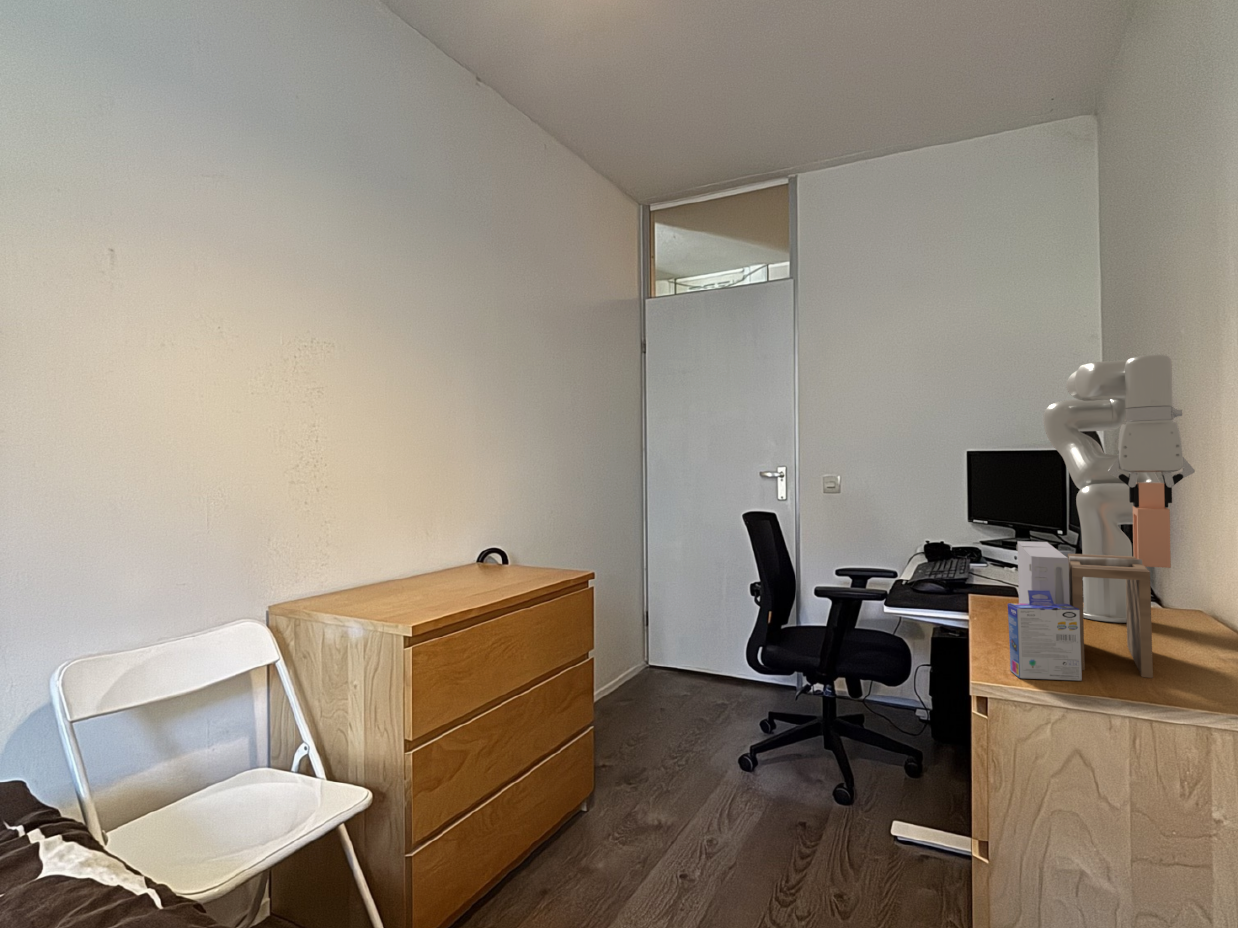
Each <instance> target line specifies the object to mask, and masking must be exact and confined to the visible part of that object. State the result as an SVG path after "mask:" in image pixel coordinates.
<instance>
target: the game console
mask: <svg viewBox="0 0 1238 928" xmlns="http://www.w3.org/2000/svg"><path fill="white" fill-rule="evenodd" d="M1016 542H1017V544H1016V551H1017V576H1018V603H1029V597H1028V590H1035V591H1050V594H1051V596H1052V600H1053V602H1054V604H1069V605H1070V602H1069V563H1068V556H1066V555H1064V554H1063V553H1062V552H1061V551H1059V550H1058V549H1057V548H1055V547H1054V546H1053V545H1052V544H1051V543H1049V542H1048V541H1025V540H1024V541H1021V540H1020V541H1019V540H1017V541H1016ZM1032 597H1033V598H1034V599H1048V597H1047V596H1045V595H1042V594H1037V595H1033V596H1032Z"/></svg>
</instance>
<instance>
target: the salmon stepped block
mask: <svg viewBox="0 0 1238 928" xmlns="http://www.w3.org/2000/svg"><path fill="white" fill-rule="evenodd" d="M1136 484H1137V487H1138V488H1139V506H1138V507H1134V506H1133V524H1132V542H1133V543H1132V555H1133V556H1135V557H1136V558H1137V559H1142V564H1143V565H1144V566H1145V567H1146V568H1147V567H1148V568H1168V569H1169V568H1170V569H1171V567H1172V565H1171V561H1172V559H1171V558H1172V555H1171V508H1170V509H1168V508H1166V507H1165V501H1164V482H1161V483H1136Z"/></svg>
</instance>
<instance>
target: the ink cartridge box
mask: <svg viewBox="0 0 1238 928" xmlns="http://www.w3.org/2000/svg"><path fill="white" fill-rule="evenodd" d="M1037 594H1042V595H1045V596H1047V597H1048V599H1034V598H1033V597H1032V596H1033V595H1037ZM1028 597H1029V603H1019V602H1018V603H1011V602H1010V603H1007V617H1008V635H1009V636H1008V637H1009V638H1008V639H1009V642H1008V643H1009V660H1010V661H1009V665H1010V667H1009V670H1010V672H1011V673H1012V674H1014V675H1015V676H1016V677H1017V678H1018V679H1032V680H1033V679H1035V680H1057V681H1079V682H1080V681H1081V682H1082V681H1083V680H1082V679H1083V676H1082V671H1083V670H1081V644H1080V610H1079V609H1078V608H1075V607H1073V606H1071V605H1069V604H1054V602H1053V600H1052V596H1051V594H1050V591H1035V590H1028Z"/></svg>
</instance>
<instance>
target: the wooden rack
mask: <svg viewBox="0 0 1238 928" xmlns="http://www.w3.org/2000/svg"><path fill="white" fill-rule="evenodd" d="M1067 558H1068V563H1069V602H1070V605H1071V606H1073V607H1075V608H1078V609H1079V610H1080V644H1081V670H1082V671H1086V670H1085V666H1086V665H1085V631H1084V629H1085V628H1084V618H1083V607H1084V596H1083V577H1094V578H1112V579H1126V612H1127V623H1126V645H1127V649H1128V651H1129V653H1130V655H1131V657H1132V660H1133V662H1134V664H1135V666H1136V668H1137V670H1138V672H1139V675H1140V676H1141V677H1142V678H1147V679H1148V678H1149V679H1154V673H1153V670H1154V669H1153V666H1154V665H1153V638H1152V637H1153V636H1152V635H1153V631H1152V628H1153V627H1152V594H1151V593H1152V592H1151V571H1150V570H1149V569H1148V568H1147V567H1145V566H1144V565H1143V564H1142V559H1137V558H1136V557H1135V556H1134V555H1132V556H1111V555H1088V554H1082V553H1067Z"/></svg>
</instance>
